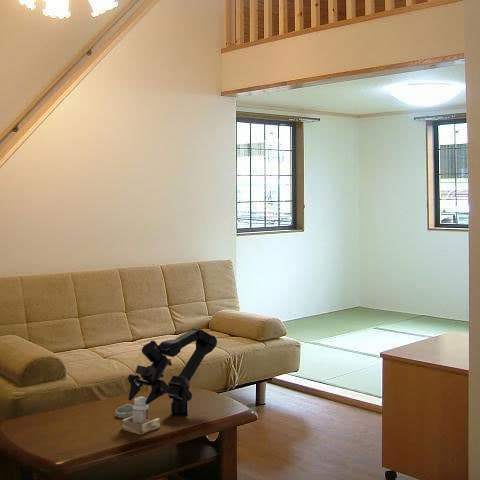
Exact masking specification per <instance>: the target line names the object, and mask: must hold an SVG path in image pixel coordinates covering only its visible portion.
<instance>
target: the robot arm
mask: <svg viewBox="0 0 480 480" xmlns="http://www.w3.org/2000/svg"><path fill="white" fill-rule="evenodd" d="M193 342H195V350H194V352H192V355H191V356H190V358H189V359H188V361H187V362H186V364H185V366H184V367H183V369H182V371H181V372H180V373H179V374H178V375H173V376H172V377H171V378H170V381H168V384H167V383H166V381H164V380H162V379H163V378H164V376H165V375H164V374H163V373H164V372H165V370H166V368H167V367H168V366H169V367H172V366H173V363H172V360H171V357H172V358H174V357H176V356H178V355H179V354H180V353H181V350H182V349H183V348H185V347H186V346H188V345H190V344H192V343H193ZM217 344H218V339H217V337H216V336H215V335H212V334H210V333H208V332H206V331H205V330H203V329H201V328H195V327H193V328H191V329H190V330H189V331H187V332H186V333H183V334H181V335H180V336H178V337H176V338H172V339H167V340H163V341H161V342H160V343H159V344H158V343H157V342H156V341H155V340H150V342H148V343H146V344H145V345H144V346H143V347H142V348H141V353H142V355H144V357H145V358H146V359H147V360H148V361H149V362H150V363H151V364H150V365H147V366H143V365H136V368H135V372H134V374H133V373H131V374H129V375H128V377H127V378H126V380H127V381H128V383H129V385H130V389H129V393H128V394H129V395H128V401H130V402H131V401H132V400H134V398H135V397H136V396H137V394H138V393H139V392H140V391H141V388H142V387H143V386H147V387H151V391H150V393H149V394H148V396H147V397H146V398H147V400H146V402H145V404H146V405H148V406H149V404H151V403H152V402H154V401H155V400H156V399H159V398H160V397H162V396H165V395H168V398H169V399H172V401H171V404H170V405H171V406H170V410H171V411H170V413H171V415H172V416H188V415H189V411H190V409H189V402H190V401H191V400H192V399H193V393H192V392H191V391H190V390H189V389H190V381H191V380H192V378H193V376H194V374H195V373H196V371H197V370H198V368H199V366H200V364H201V363H202V361H203V360H204V358H205V356H207V355H208V354H209V353H211V352H213V351H214V349H215V348H216V347H217ZM168 357H170V358H168Z"/></svg>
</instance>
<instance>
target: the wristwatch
mask: <svg viewBox="0 0 480 480" xmlns="http://www.w3.org/2000/svg"><path fill="white" fill-rule="evenodd" d="M133 406H134V405H133V404H131V403H125V404H124V405H122V406H120V407H118V408H116V409H115V414H116V417H117V418H119V419H126V418H129V417H132V416H133Z"/></svg>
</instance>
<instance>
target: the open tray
mask: <svg viewBox="0 0 480 480" xmlns="http://www.w3.org/2000/svg"><path fill="white" fill-rule="evenodd" d="M160 419H161V418H160V417H159V418H154V419H152V420H149V422H146V423H144V424H141V425H140V424H136V423H133V416H132V417H129V418H123V419H121V421H120V430H122V431H126V432H129V433H133V434H136V435H141V436H142V435H144V434H147V433H149V432H152V431H154V430H157V429H159V428H161V427H160V426H161V424H160V423H161V420H160Z"/></svg>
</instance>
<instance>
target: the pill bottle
mask: <svg viewBox="0 0 480 480" xmlns="http://www.w3.org/2000/svg"><path fill="white" fill-rule="evenodd" d="M147 398H148V397H145V396H135V397H134V398H133V403H134V405H133V423H136V424H140V425H141V424H144V423H146V422H149V421H150V412H149V411H150V410H149V409H150V407H149V404H148V405H146V404H145V402H146V400H147Z"/></svg>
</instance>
